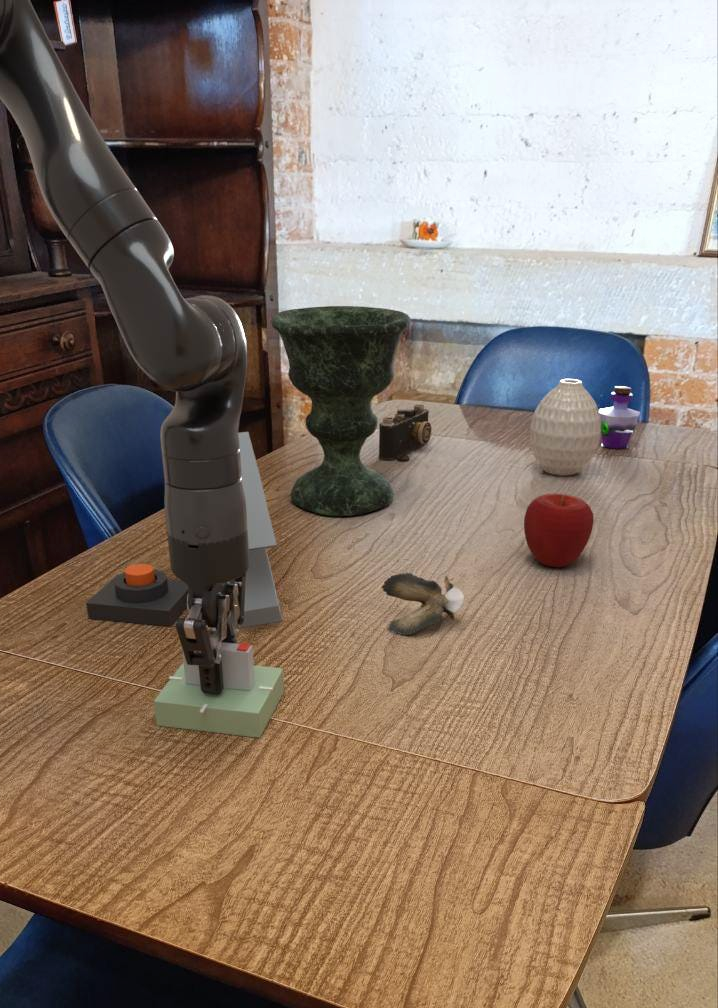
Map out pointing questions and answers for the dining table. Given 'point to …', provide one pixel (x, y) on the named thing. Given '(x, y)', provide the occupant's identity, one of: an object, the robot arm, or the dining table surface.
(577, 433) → the vase
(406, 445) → the camera
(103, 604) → the button box
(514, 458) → the dining table surface
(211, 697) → the base
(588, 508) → the apple
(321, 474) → the goblet
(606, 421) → the potion bottle
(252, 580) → the bracket
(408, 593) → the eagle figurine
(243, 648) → the grey flat block
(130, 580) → the button
